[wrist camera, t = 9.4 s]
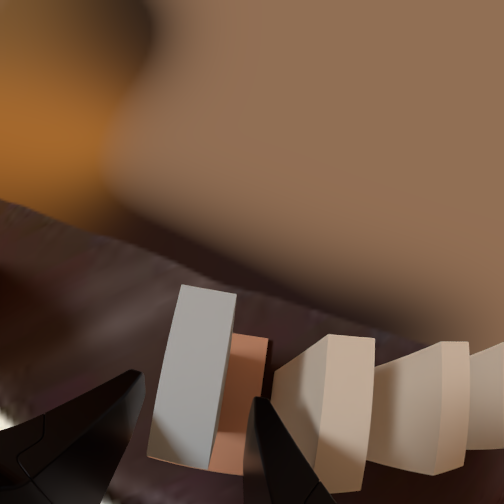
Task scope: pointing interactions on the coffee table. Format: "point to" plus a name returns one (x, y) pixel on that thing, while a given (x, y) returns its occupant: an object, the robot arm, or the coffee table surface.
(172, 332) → the domino
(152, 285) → the coffee table surface
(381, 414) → the domino
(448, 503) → the coffee table surface
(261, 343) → the tile
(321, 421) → the domino
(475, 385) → the domino
